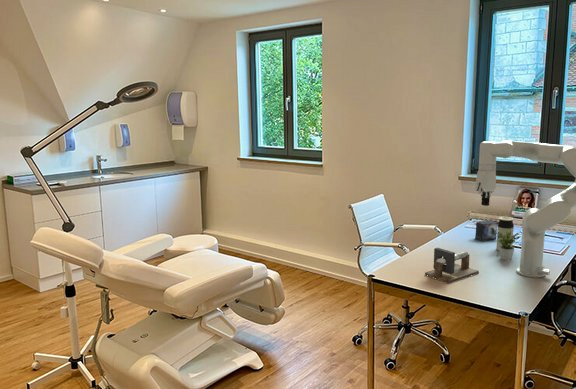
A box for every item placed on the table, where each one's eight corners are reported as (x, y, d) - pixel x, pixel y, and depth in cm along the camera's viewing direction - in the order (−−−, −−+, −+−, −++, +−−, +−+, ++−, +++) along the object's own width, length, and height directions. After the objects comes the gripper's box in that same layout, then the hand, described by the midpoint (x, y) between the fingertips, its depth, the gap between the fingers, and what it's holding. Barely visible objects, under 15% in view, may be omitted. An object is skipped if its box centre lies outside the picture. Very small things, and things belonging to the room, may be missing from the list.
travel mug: (509, 247, 273) (511, 216, 270) (514, 252, 266) (516, 219, 262) (494, 247, 274) (496, 216, 271) (499, 251, 266) (500, 219, 263)
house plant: (525, 264, 245) (528, 233, 242) (496, 263, 248) (498, 232, 245) (518, 256, 259) (520, 226, 256) (490, 254, 262) (492, 225, 259)
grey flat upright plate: (454, 273, 228) (455, 252, 226) (450, 274, 226) (451, 253, 224) (436, 267, 236) (437, 247, 234) (433, 268, 234) (434, 248, 233)
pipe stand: (478, 273, 235) (479, 253, 233) (448, 283, 223) (449, 263, 221) (454, 265, 247) (455, 247, 245) (424, 274, 235) (425, 255, 233)
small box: (481, 241, 287) (482, 224, 285) (474, 238, 293) (475, 221, 291) (496, 239, 290) (497, 222, 288) (489, 236, 296) (490, 219, 294)
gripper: (489, 165, 239) (487, 202, 243) (470, 168, 231) (468, 206, 234) (503, 166, 233) (501, 204, 236) (484, 170, 225) (482, 208, 228)
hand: (485, 205), depth 235 cm, fingers closed
